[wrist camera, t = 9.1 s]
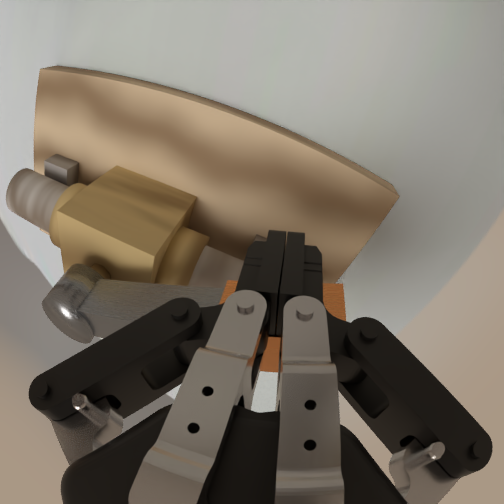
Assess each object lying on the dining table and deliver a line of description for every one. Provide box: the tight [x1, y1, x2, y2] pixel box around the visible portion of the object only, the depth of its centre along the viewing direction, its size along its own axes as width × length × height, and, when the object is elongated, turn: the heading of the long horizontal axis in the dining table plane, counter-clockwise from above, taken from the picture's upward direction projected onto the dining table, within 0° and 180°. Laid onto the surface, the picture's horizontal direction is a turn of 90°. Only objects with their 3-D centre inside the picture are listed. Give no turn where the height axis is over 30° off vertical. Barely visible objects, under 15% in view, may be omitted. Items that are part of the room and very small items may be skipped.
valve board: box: [6, 66, 399, 288], centre depth 19 cm, size 18×30×10 cm, turn 69°
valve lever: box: [42, 263, 346, 372], centre depth 13 cm, size 16×4×3 cm, turn 96°
